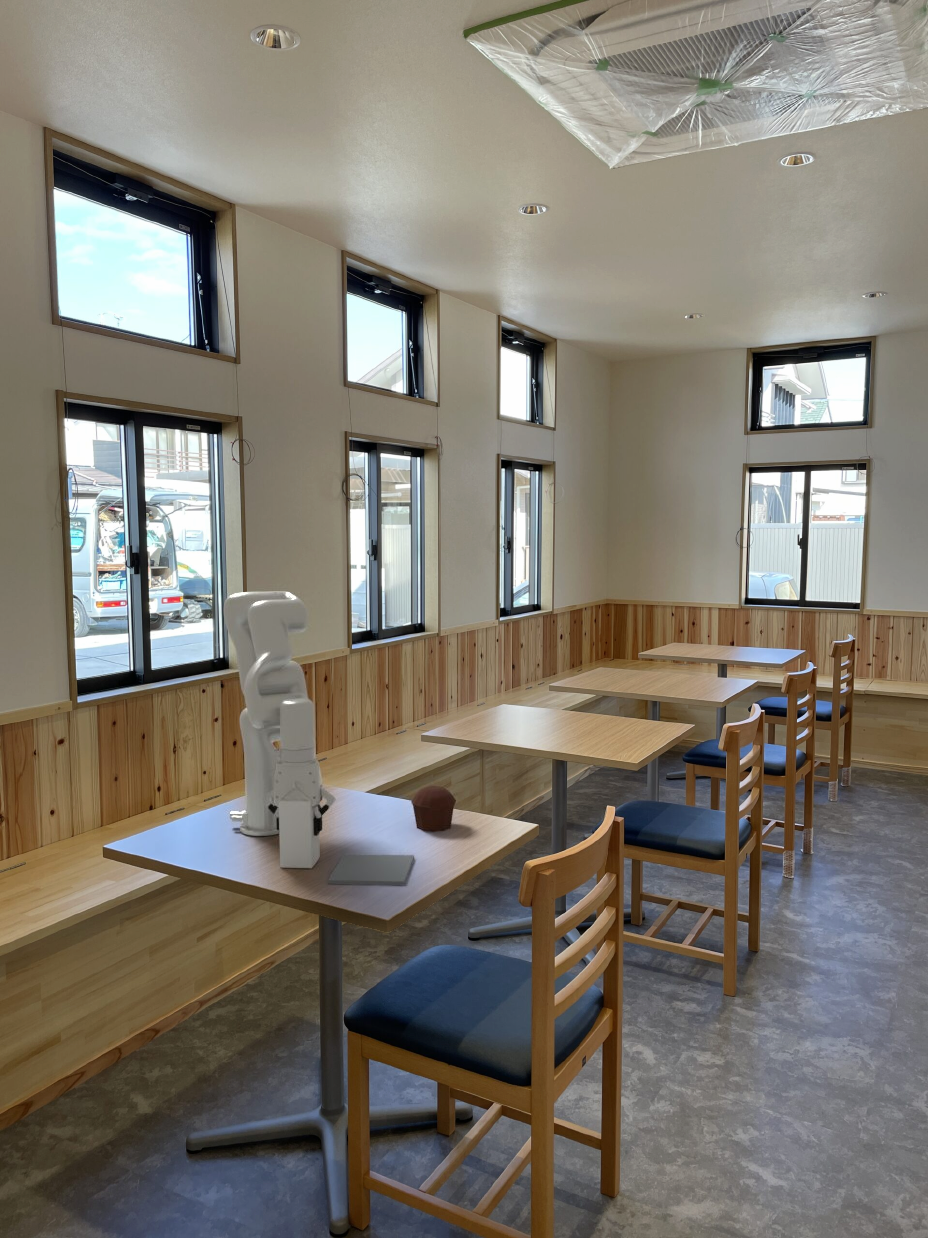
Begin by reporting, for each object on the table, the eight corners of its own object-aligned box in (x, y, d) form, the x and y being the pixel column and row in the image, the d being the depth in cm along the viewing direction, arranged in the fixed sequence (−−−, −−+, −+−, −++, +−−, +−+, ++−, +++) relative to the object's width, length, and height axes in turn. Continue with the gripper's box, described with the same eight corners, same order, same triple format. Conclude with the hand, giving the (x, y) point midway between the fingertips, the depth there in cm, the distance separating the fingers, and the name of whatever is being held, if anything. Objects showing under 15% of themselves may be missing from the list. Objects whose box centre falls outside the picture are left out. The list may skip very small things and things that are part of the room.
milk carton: (320, 858, 200) (318, 775, 199) (311, 869, 193) (309, 783, 192) (289, 857, 201) (287, 775, 200) (279, 868, 194) (278, 783, 193)
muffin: (461, 831, 219) (461, 791, 218) (418, 836, 216) (417, 795, 215) (448, 817, 230) (448, 780, 230) (407, 822, 227) (406, 783, 227)
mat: (328, 884, 185) (328, 880, 185) (343, 857, 201) (343, 854, 201) (404, 885, 184) (404, 881, 184) (414, 858, 199) (414, 855, 199)
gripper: (254, 758, 192) (256, 838, 194) (333, 759, 191) (334, 839, 192) (264, 751, 200) (266, 828, 201) (340, 751, 199) (341, 829, 200)
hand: (299, 833), depth 197 cm, fingers closed on milk carton, 7 cm apart
